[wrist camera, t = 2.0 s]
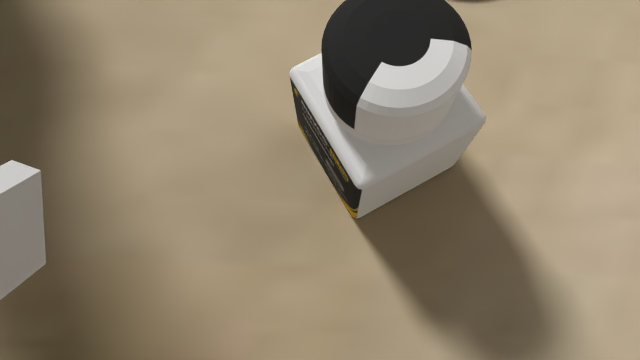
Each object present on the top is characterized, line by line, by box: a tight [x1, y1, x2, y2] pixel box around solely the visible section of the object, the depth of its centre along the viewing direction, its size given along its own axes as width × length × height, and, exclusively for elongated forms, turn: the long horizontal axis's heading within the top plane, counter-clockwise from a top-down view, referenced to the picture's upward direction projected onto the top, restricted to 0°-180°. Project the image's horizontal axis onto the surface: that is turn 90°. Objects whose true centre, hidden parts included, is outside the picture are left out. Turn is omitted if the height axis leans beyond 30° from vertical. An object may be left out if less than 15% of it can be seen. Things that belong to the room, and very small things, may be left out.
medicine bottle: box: [290, 0, 486, 219], centre depth 26 cm, size 7×7×12 cm
